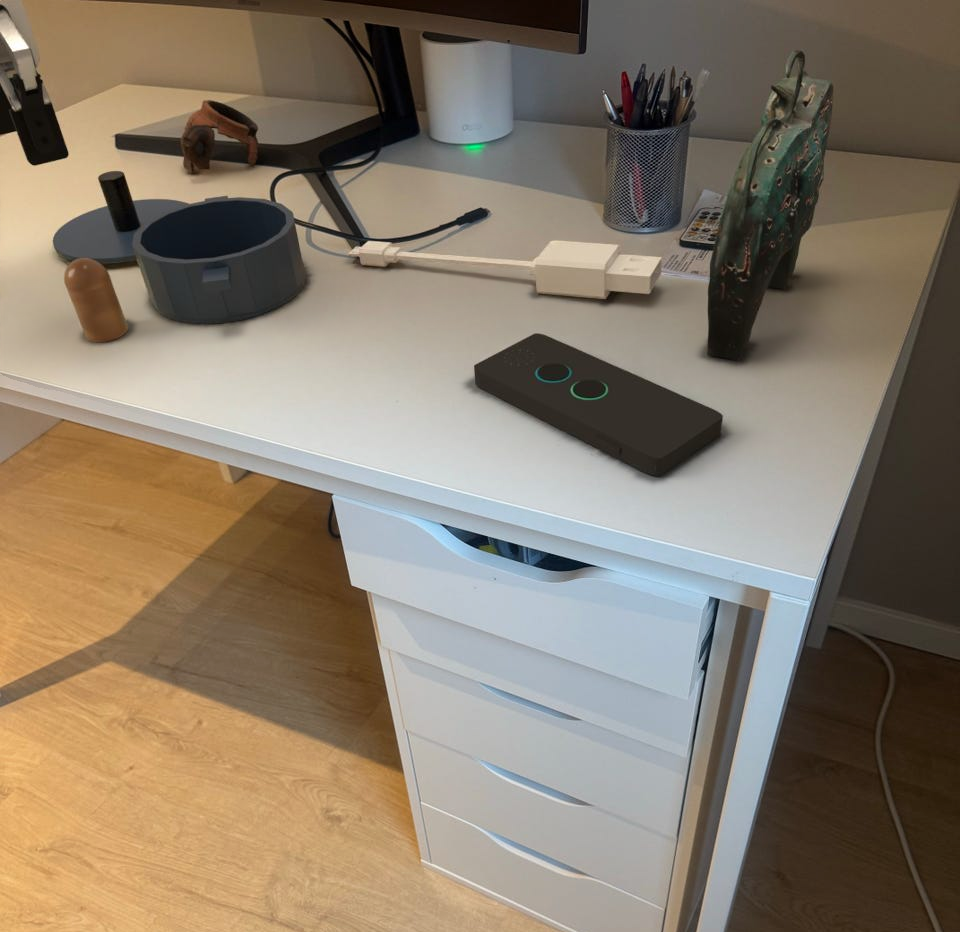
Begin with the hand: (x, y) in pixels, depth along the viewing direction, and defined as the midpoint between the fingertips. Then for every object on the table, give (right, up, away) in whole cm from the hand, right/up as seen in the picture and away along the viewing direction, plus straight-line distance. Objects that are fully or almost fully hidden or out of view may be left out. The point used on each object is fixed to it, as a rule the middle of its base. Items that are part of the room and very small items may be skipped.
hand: (31, 145), depth 76 cm
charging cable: (+40, -6, +14) cm, 43 cm away
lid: (-2, +5, +27) cm, 27 cm away
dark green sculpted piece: (+63, -12, +6) cm, 64 cm away
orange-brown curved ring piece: (+4, +20, +42) cm, 47 cm away
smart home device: (+47, -23, -3) cm, 52 cm away
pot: (+12, -6, +16) cm, 21 cm away
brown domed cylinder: (+2, -12, +11) cm, 16 cm away
